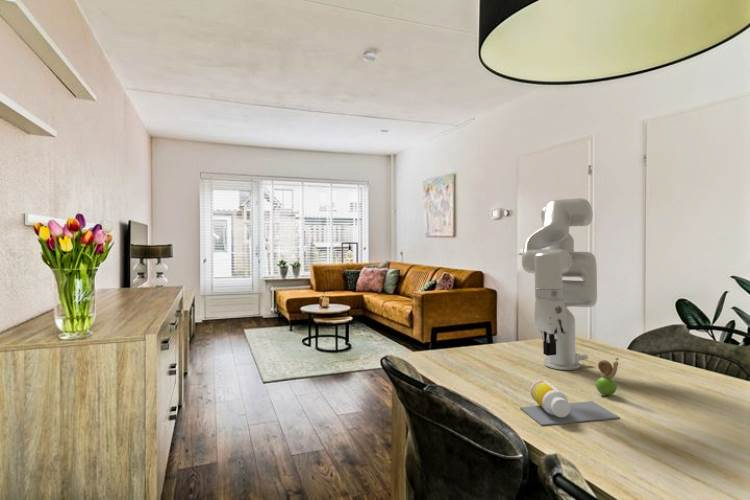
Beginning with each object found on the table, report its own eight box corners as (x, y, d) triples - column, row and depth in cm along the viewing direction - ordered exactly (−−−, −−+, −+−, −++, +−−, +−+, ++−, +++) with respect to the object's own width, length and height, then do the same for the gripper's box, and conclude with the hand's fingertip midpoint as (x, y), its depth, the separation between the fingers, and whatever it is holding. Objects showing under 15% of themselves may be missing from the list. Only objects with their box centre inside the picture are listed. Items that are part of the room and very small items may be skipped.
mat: (592, 402, 120) (592, 401, 120) (619, 418, 109) (619, 417, 109) (520, 408, 117) (520, 407, 117) (541, 425, 106) (541, 424, 106)
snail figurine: (612, 400, 121) (612, 359, 121) (592, 393, 127) (591, 354, 127) (624, 397, 124) (623, 356, 124) (603, 390, 130) (603, 351, 129)
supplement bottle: (526, 397, 121) (544, 416, 108) (533, 376, 120) (553, 392, 108) (548, 404, 121) (569, 424, 108) (555, 383, 121) (577, 400, 108)
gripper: (576, 297, 117) (577, 361, 119) (546, 289, 132) (547, 346, 133) (551, 299, 116) (552, 363, 118) (524, 290, 131) (525, 348, 132)
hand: (549, 354), depth 125 cm, fingers closed
